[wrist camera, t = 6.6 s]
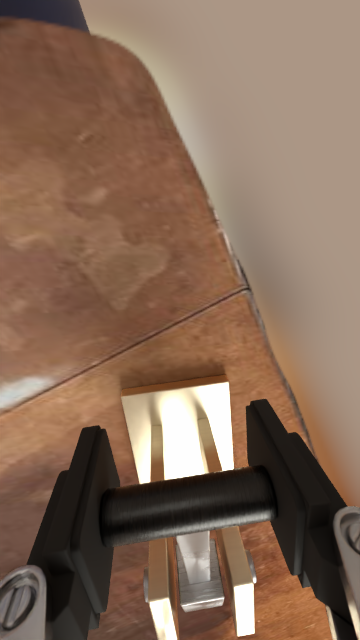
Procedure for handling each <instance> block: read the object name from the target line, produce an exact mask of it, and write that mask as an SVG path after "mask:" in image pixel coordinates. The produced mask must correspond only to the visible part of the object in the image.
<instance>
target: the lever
mask: <svg viewBox="0 0 360 640" xmlns="http://www.w3.org/2000/svg"><path fill="white" fill-rule="evenodd" d="M277 516H278V506H277V499H276V495H275V491H274V487H273V484H272V481H271V479H270V476H269V474H268V472H267V470H266V469H265V467H264V466H263V465H255V466H249V467H243V468H236V469H230V470H224V471H217V472H211V473H205V474H198V475H192V476H186V477H179V478H173V479H167V480H160V481H154V482H148V483H141V484H135V485H129V486H123V487H116V488H110V489H107V490H105V492H104V494H103V497H102V501H101V506H100V535H101V540H102V543H103V545H104V547H106V548H110V547H116V546H122V545H128V544H134V543H140V542H145V541H151V540H157V539H163V538H169V537H175V536H176V540H177V543H178V544H177V545H176V558H177V570H178V582H179V594H180V604H181V606H182V608H183V610H184V612H189V611H195V610H200V609H206V608H211V607H217V606H222V605H223V602H224V590H223V584H222V579H221V573H220V567H219V561H218V556H217V550H216V544H215V540H214V539H210V531H211V530H217V529H223V528H229V527H235V526H241V525H247V524H253V523H259V522H265V521H271V520H275V519H276V518H277Z"/></svg>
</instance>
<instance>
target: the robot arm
mask: <svg viewBox="0 0 360 640" xmlns="http://www.w3.org/2000/svg"><path fill="white" fill-rule="evenodd" d="M246 425H247V456H248V464H249V466H255V465H263V466H264V467H265V469H266V470H267V472H268V474H269V476H270V479H271V481H272V484H273V487H274V491H275V495H276V499H277V506H278V516H277V518H276V519H275V520H271V521H270V522H271V525H272V527H273V530H274V532H275V535H276V538H277V540H278V543H279V545H280V548H281V551H282V553H283V556H284V558H285V561H286V563H287V566H288V568H289V571H290V573H291V574H292V575H293V576H294V575H298V578H299V580H300V583H301V585H302V588H305V587H310V586H311V587H312V589H313V592H314V594H315V596H316V598H317V599H318V600H320V601H321V602H323V603H324V604H325V607H326V612H327V616H328V621H329V625H330V630H331V635H332V639H333V640H360V508H359V507H355V506H354V507H348V506H347V505H346V504H345V502H344V501H343V499H342V498H341V497H340V495H339V493H338V492H337V490H336V489H335V487H334V486H333V484H332V483H331V481H330V480H329V479H328V477H327V475H326V474H325V472H324V471H323V469H322V468H321V466H320V465H319V463H318V462H317V460H316V459H315V457H314V456H313V454H312V453H311V451H310V450H309V448H308V447H307V446H306V444H305V443H304V441H303V440H302V438H301V437H300V436H299V434H298V433H296V432H293V433H288V432H287V431H286V429H285V428H284V426H283V424H282V423H281V421H280V420H279V418H278V416H277V415H276V413H275V412H274V410H273V408H272V407H271V405H270V404H269V402H268V401H267V399H261V400H255V401H251V403H250V405H249V406H246ZM116 487H120V480H119V476H118V473H117V469H116V465H115V462H114V458H113V454H112V451H111V447H110V443H109V439H108V436H107V432H106V429H101V428H100V426H99V425H98V426H92V427H85V428H83V429H82V431H81V434H80V437H79V440H78V443H77V446H76V449H75V453H74V456H73V459H72V462H71V465H70V468H69V470H65V471H61V473H60V474H59V476H58V478H57V481H56V484H55V486H54V489H53V492H52V495H51V498H50V500H49V503H48V506H47V509H46V512H45V514H44V517H43V520H42V523H41V526H40V528H39V531H38V534H37V537H36V540H35V542H34V545H33V548H32V551H31V554H30V556H29V559H28V562H27V565H25V566H22V567H19V568H17V569H15V570H13V571H12V572H10V573H8V574H7V575H6V576H5V577H4V578H3V579H2V580H0V640H87V636H88V630H91V629H96V628H99V620H100V613H102V612H105V611H106V609H107V604H108V595H109V586H110V577H111V568H112V559H113V550H114V547H110V548H106V547H104V545H103V543H102V540H101V535H100V506H101V501H102V497H103V494H104V492H105V490H107V489H110V488H116Z"/></svg>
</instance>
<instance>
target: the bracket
mask: <svg viewBox="0 0 360 640" xmlns="http://www.w3.org/2000/svg"><path fill="white" fill-rule="evenodd" d="M121 401H122V406H123V410H124V415H125V420H126V424H127V429H128V433H129V438H130V442H131V447H132V452H133V456H134V461H135V465H136V470H137V475H138V479H139V484H141V483H148V482H154V481H160V480H167V479H173V478H179V477H186V476H192V475H198V474H205V473H211V472H217V471H224V470H230V469H234V460H233V441H232V423H231V404H230V386H229V380H228V378H227V376H226V375H218V376H211V377H204V378H197V379H190V380H183V381H176V382H169V383H162V384H155V385H148V386H141V387H134V388H127V389H122V393H121ZM216 535H217V540H218V545H219V550H220V555H221V560H222V565H223V570H224V575H225V581H226V586H227V591H228V596H229V601H230V606H231V611H232V616H233V621H234V626H235V631H236V635H237V636H242V635H248V634H253V633H255V618H254V583H256V581H257V579H256V572H255V567H254V563H253V559H252V556H251V553H250V551H249V550H245V549H244V545H243V542H242V538H241V534H240V531H239V527H238V526H235V527H229V528H223V529H217V530H216ZM143 584H144V597H145V601H146V602H148V603H149V606H150V610H151V614H152V618H153V622H154V626H155V630H156V634H157V638H158V640H179V631H178V614H177V597H176V580H175V563H174V546H173V537H169V538H163V539H157V540H151V541H149V567H145V569H144V577H143Z"/></svg>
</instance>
